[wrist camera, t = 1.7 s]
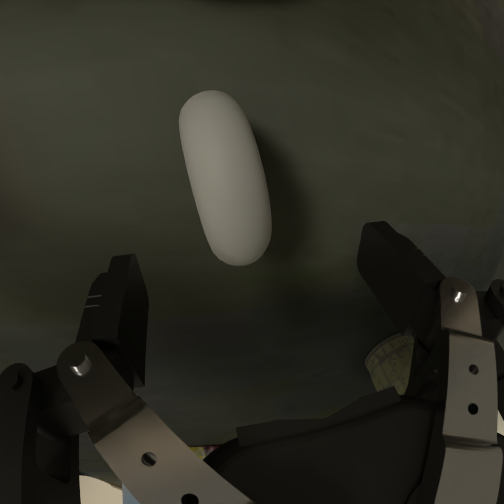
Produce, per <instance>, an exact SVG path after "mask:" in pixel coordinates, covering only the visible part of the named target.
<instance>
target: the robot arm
mask: <svg viewBox="0 0 504 504" xmlns="http://www.w3.org/2000/svg"><path fill="white" fill-rule="evenodd" d="M357 266H358V270H359V272H360V274H361V276H362V277H363V279H364V280H365V281H366V283H367V284H368V286H369V287H370V289H371V290H372V291H373V293H374V294H375V296H376V297H377V299H378V300H379V302H380V303H381V305H382V306H383V308H384V309H385V310H386V312H387V313H388V315H389V316H390V318H391V319H392V321H393V322H394V324H395V326H396V327H397V329H398V330H399V332H400V333H401V335H402V336H405V335H408V334H411V333H414V332H415V334H416V335H417V337H416V339H415V341H414V346H413V354H412V361H411V368H410V375H409V381H408V385H407V388H406V391H405V393H404V395H399V394H398V392H397V390H396V388H395V387H394V386H392V387H389V388H386V389H384V390H381V391H378V392H375V393H372V394H370V395H367V396H364V397H361V398H359V399H357V400H356V401H354V402H353V403H351V404H349V405H348V406H346V407H345V408H343V409H341V410H340V411H338V412H336V413H334V414H333V415H331V416H329V417H327V418H324V419H308V420H275V421H270V422H265V423H260V424H254V425H249V426H243V427H237V428H236V430H237V436H238V437H237V438H235V439H232V440H230V441H228V442H226V443H224V444H222V445H220V446H219V447H217V448H216V449H215V450H213V451H212V452H211V453H209V454H208V455H207V456H206V457H205V458H204V459H203V460H202V459H201V458H200V457H198V456H197V455H196V454H195V453H194V452H193V451H192V450H191V449H190V448H189V447H188V446H187V445H186V444H185V443H184V442H183V441H181V440H180V439H179V438H178V437H177V436H176V435H175V434H174V433H173V432H172V431H171V430H170V429H169V428H168V426H167V425H166V424H165V423H164V422H163V421H162V420H161V419H160V418H159V417H158V416H157V415H156V414H155V413H154V412H153V411H152V409H151V408H150V407H149V406H148V405H147V404H146V403H145V402H144V401H143V400H142V399H141V398H140V397H139V396H137V395H136V394H135V393H134V392H133V389H134V387H145V356H146V337H147V322H148V309H149V301H148V294H147V290H146V286H145V283H144V280H143V277H142V274H141V271H140V267H139V264H138V261H137V258H136V256H135V254H127V255H120V256H114V257H112V259H111V262H110V266H109V269H108V273H101V274H100V275H99V276H98V277H97V278H96V280H95V281H94V282H93V283H92V285H91V288H90V292H89V295H88V298H87V302H86V305H85V306H86V308H84V312H83V316H82V319H81V323H80V327H79V331H78V334H77V338H76V343H74V344H72V345H70V346H68V347H67V348H66V349H65V350H64V351H63V352H62V353H61V354H60V356H59V358H58V361H57V365H55V366H53V367H50V368H47V369H44V370H41V371H39V372H36V373H33V372H32V370H31V369H30V368H29V367H28V366H27V365H25V364H22V363H15V364H12V365H10V366H9V367H7V368H6V369H5V370H4V371H3V372H2V373H1V375H0V504H81V501H80V486H79V434H80V433H83V432H86V431H89V430H90V431H89V432H88V435H89V437H90V439H91V440H92V442H93V444H94V445H95V447H96V448H97V449H98V451H99V452H100V454H101V455H102V457H103V458H104V459H105V461H106V462H107V463H108V465H109V466H110V467H111V469H112V470H113V471H114V473H115V474H116V475H117V477H118V478H119V479H120V480H121V482H122V483H123V484H124V485H125V487H126V488H127V489H128V490H129V491H130V493H131V494H132V495H133V496H134V497H135V498H136V499H137V501H138V502H139V503H140V504H504V436H503V435H501V434H499V433H497V415H498V414H497V413H498V410H499V412H500V414H501V416H502V418H503V420H504V350H503V349H502V347H501V346H500V344H499V343H498V341H497V339H498V338H499V336H500V335H501V333H502V332H503V330H504V280H501V279H497V280H494V281H492V283H491V285H490V287H489V289H488V291H475V290H474V289H473V288H472V286H471V285H469V284H468V283H467V282H465V281H464V280H461V279H459V278H454V277H449V278H446V277H445V276H444V275H443V274H442V273H441V272H440V271H439V270H438V268H437V267H436V266H435V265H434V264H433V263H432V262H431V261H430V260H429V259H428V258H427V257H426V256H424V254H423V253H422V252H421V251H420V250H419V249H417V247H416V246H415V245H414V244H413V243H412V242H411V241H410V240H409V239H408V238H406V237H404V236H403V235H401V234H399V233H397V232H396V231H395V230H394V229H393V228H392V227H391V226H390V225H389V224H388V223H387V222H385V221H379V222H370V223H366V224H365V225H364V226H363V229H362V235H361V241H360V246H359V251H358V257H357Z"/></svg>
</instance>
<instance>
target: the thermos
mask: <svg viewBox="0 0 504 504" xmlns="http://www.w3.org/2000/svg"><path fill="white" fill-rule="evenodd" d="M414 341H415V340H414V339H413V336H412V335H411V334H408V335H405V336H402V335H401V333H398V334H394V335H392V336H390V337H388V338H386V339H385V340H383V341H382V342H380V343H379V344H378V345H377V346H376V347H374V348H373V349H372V350H371V352H370V353H369V354H368V355H367V357H366V359H365V366H366V368H367V369H368V371H369V373H370V376H371V380H372V382H373V384H374V386H375V388H376V390H377V392H378V391H381V390H384V389H386V388H389V387H392V386H394V387H395V388H396V390H397V392H398V394H399V395H404V393H405V391H406V388H407V385H408V381H409V375H410V368H411V361H412V354H413V346H414Z"/></svg>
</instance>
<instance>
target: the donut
mask: <svg viewBox="0 0 504 504" xmlns="http://www.w3.org/2000/svg"><path fill="white" fill-rule="evenodd" d="M179 129H180V138H181V143H182V149H183V154H184V158H185V163H186V167H187V172H188V176H189V180H190V184H191V188H192V192H193V195H194V199H195V202H196V206H197V210H198V213H199V216H200V220H201V223H202V226H203V229H204V232H205V235H206V238H207V240H208V243H209V245H210V247H211V249H212V251H213V253H214V254H215V255H216V256H217V257H218V258H219V259H220V260H221V261H223V262H225V263H227V264H229V265H234V266H244V265H248V264H251V263H253V262H255V261H256V260H258V259H259V258H260V257H261V256H262V255H263V253H264V252H265V250H266V248H267V246H268V244H269V242H270V238H271V233H272V217H271V208H270V200H269V194H268V189H267V184H266V179H265V173H264V169H263V166H262V162H261V158H260V154H259V150H258V147H257V144H256V141H255V138H254V135H253V132H252V129H251V126H250V124H249V122H248V119H247V117H246V115H245V113H244V111H243V110H242V108H241V107H240V106H239V105H238V103H237V102H236V101H235V100H234V99H233V98H232V97H231V96H229V95H228V94H226V93H224V92H220V91H216V90H211V91H203V92H201V93H198V94H196V95H194V96H193V97H191V98H190V99H189V100H188V101H187V102H186V103H185V105H184V106H183V108H182V109H181V112H180V116H179Z"/></svg>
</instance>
